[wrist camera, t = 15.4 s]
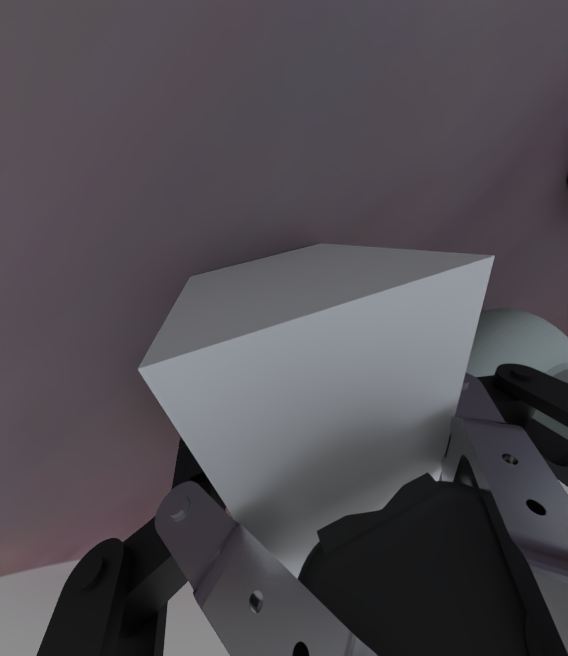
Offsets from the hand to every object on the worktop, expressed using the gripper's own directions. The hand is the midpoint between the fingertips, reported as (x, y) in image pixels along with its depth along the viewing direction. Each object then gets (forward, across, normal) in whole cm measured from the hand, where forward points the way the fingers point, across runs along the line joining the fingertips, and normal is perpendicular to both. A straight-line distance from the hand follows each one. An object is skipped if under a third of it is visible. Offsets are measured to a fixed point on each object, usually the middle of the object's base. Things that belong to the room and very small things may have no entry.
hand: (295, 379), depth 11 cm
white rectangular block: (+2, 0, 0) cm, 2 cm away
